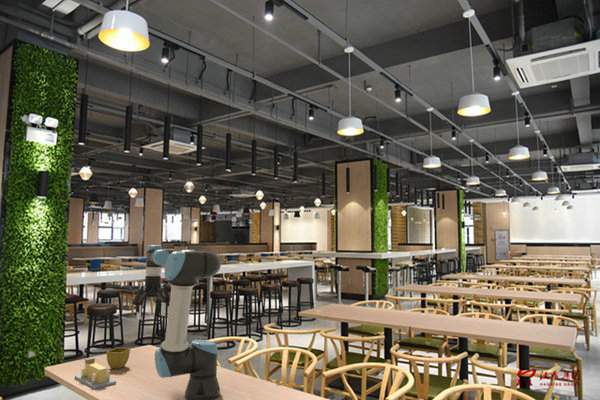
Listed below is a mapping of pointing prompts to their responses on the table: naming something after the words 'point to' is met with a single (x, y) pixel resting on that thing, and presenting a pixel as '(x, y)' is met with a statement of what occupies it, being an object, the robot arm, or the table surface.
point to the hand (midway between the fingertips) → (151, 317)
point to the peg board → (96, 385)
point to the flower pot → (118, 357)
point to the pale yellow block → (95, 370)
